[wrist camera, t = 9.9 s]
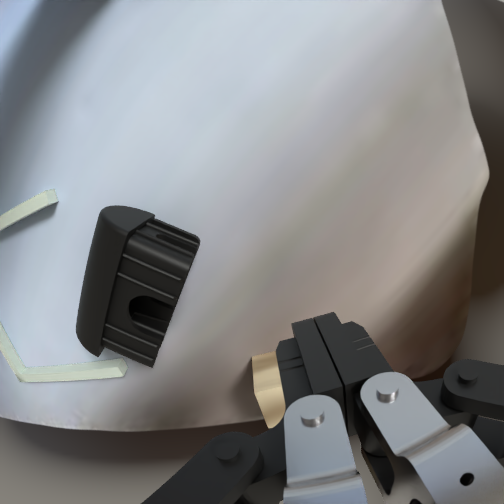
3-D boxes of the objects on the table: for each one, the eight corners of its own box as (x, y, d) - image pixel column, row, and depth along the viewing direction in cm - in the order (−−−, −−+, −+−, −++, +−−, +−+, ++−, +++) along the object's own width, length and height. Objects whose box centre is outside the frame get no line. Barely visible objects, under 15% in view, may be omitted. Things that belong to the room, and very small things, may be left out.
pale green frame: (-37, 241, 22) (-45, 245, 20) (54, 188, 21) (45, 190, 20) (25, 375, 27) (20, 381, 26) (127, 367, 26) (123, 376, 25)
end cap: (124, 198, 22) (84, 213, 15) (205, 232, 23) (191, 260, 16) (96, 301, 24) (62, 340, 18) (166, 332, 25) (147, 381, 19)
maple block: (251, 356, 26) (254, 392, 22) (304, 342, 26) (316, 377, 22) (264, 392, 28) (268, 428, 23) (312, 380, 28) (323, 414, 23)
